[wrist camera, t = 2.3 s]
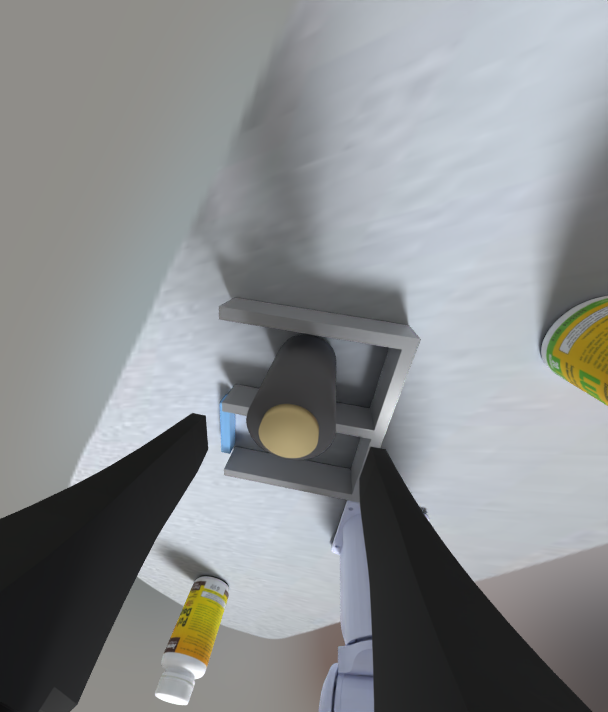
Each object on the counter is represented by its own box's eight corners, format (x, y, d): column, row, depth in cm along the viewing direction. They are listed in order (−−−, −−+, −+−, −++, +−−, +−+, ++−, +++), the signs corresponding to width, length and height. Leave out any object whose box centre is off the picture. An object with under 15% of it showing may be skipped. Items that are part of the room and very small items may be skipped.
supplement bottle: (202, 569, 35) (154, 687, 25) (236, 584, 35) (201, 704, 26) (190, 582, 37) (142, 695, 28) (222, 596, 38) (186, 710, 29)
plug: (330, 391, 19) (327, 477, 12) (275, 381, 19) (241, 460, 12) (341, 339, 17) (344, 407, 10) (280, 329, 17) (242, 388, 10)
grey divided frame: (357, 476, 22) (359, 502, 20) (227, 450, 23) (215, 473, 21) (408, 325, 16) (420, 339, 14) (223, 295, 16) (205, 304, 14)
